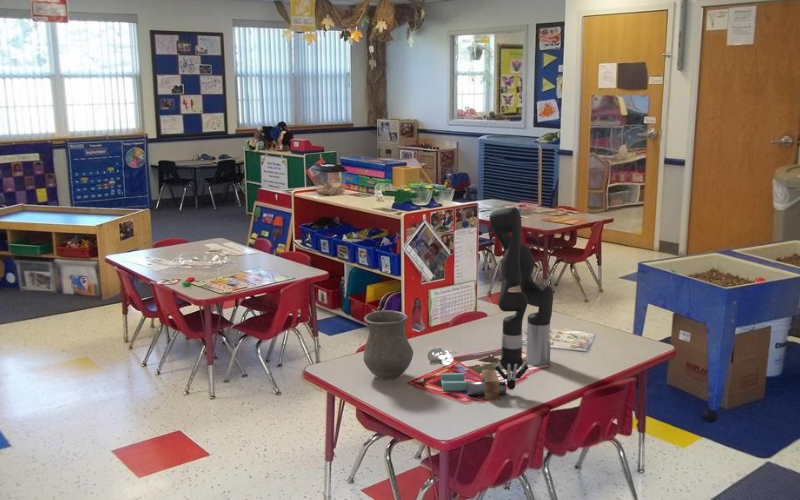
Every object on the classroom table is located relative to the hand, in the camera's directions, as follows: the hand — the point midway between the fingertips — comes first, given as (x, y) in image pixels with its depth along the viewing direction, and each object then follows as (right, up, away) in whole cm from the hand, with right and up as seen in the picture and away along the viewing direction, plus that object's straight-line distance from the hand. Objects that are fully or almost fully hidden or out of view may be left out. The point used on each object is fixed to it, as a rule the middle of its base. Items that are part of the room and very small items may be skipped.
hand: (510, 388), depth 289 cm
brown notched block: (-8, -2, +1) cm, 8 cm away
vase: (-46, +1, +19) cm, 50 cm away
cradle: (-21, 0, +9) cm, 23 cm away
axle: (-9, -2, 0) cm, 9 cm away
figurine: (-24, +5, +34) cm, 42 cm away
